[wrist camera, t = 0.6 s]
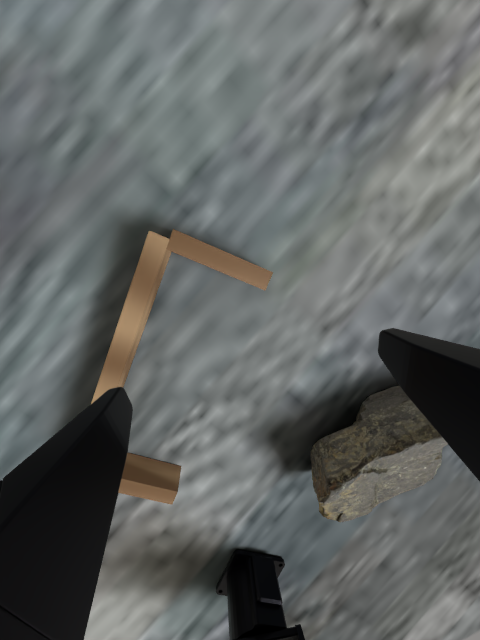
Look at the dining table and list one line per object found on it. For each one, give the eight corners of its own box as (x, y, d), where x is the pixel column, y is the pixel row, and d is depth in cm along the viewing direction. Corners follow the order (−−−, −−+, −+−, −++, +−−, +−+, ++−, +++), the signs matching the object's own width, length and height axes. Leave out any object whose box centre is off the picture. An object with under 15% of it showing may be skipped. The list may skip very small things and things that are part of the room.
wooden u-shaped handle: (176, 477, 27) (171, 504, 24) (82, 454, 25) (65, 480, 22) (265, 270, 23) (272, 272, 20) (160, 225, 21) (152, 220, 18)
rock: (351, 546, 26) (303, 523, 21) (316, 480, 32) (272, 449, 27) (498, 443, 24) (483, 391, 19) (432, 393, 30) (408, 344, 25)
